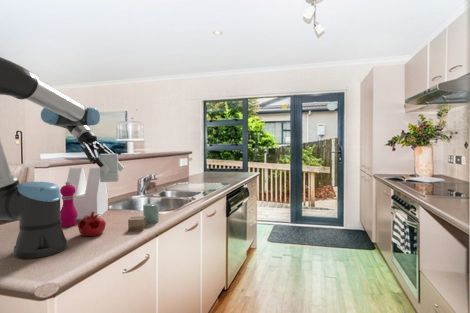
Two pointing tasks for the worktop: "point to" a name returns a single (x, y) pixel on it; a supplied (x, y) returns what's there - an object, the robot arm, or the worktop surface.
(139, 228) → the walnut block
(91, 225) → the pomegranate
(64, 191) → the pepper mill
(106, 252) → the worktop surface
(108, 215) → the worktop surface
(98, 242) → the worktop surface
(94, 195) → the milk carton
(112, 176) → the supplement box
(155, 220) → the green rounded block
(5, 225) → the worktop surface
